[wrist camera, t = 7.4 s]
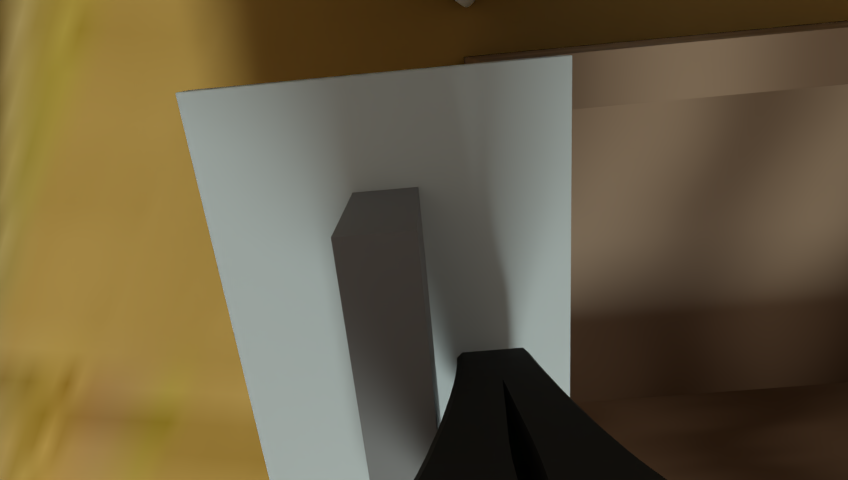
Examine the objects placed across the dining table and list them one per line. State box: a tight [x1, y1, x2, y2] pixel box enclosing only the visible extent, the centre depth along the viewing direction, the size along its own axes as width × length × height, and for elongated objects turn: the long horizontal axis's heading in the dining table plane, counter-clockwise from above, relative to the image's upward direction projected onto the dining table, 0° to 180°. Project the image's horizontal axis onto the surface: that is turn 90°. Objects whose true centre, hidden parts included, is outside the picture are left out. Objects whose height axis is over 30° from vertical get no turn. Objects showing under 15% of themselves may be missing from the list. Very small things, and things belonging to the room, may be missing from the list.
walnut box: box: [464, 21, 848, 480], centre depth 14 cm, size 14×12×5 cm
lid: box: [176, 55, 572, 480], centre depth 10 cm, size 7×12×3 cm, turn 5°
